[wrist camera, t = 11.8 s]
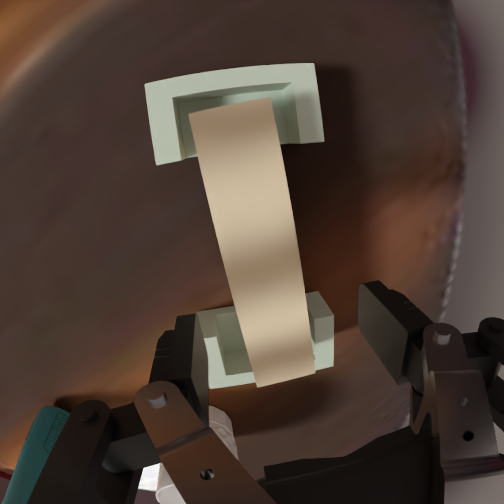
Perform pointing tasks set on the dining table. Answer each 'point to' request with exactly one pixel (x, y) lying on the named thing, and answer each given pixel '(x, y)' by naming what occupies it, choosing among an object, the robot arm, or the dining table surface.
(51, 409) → the beverage bottle
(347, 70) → the dining table surface
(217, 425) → the white cup
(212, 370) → the end cap
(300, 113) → the end cap
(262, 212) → the wooden block
